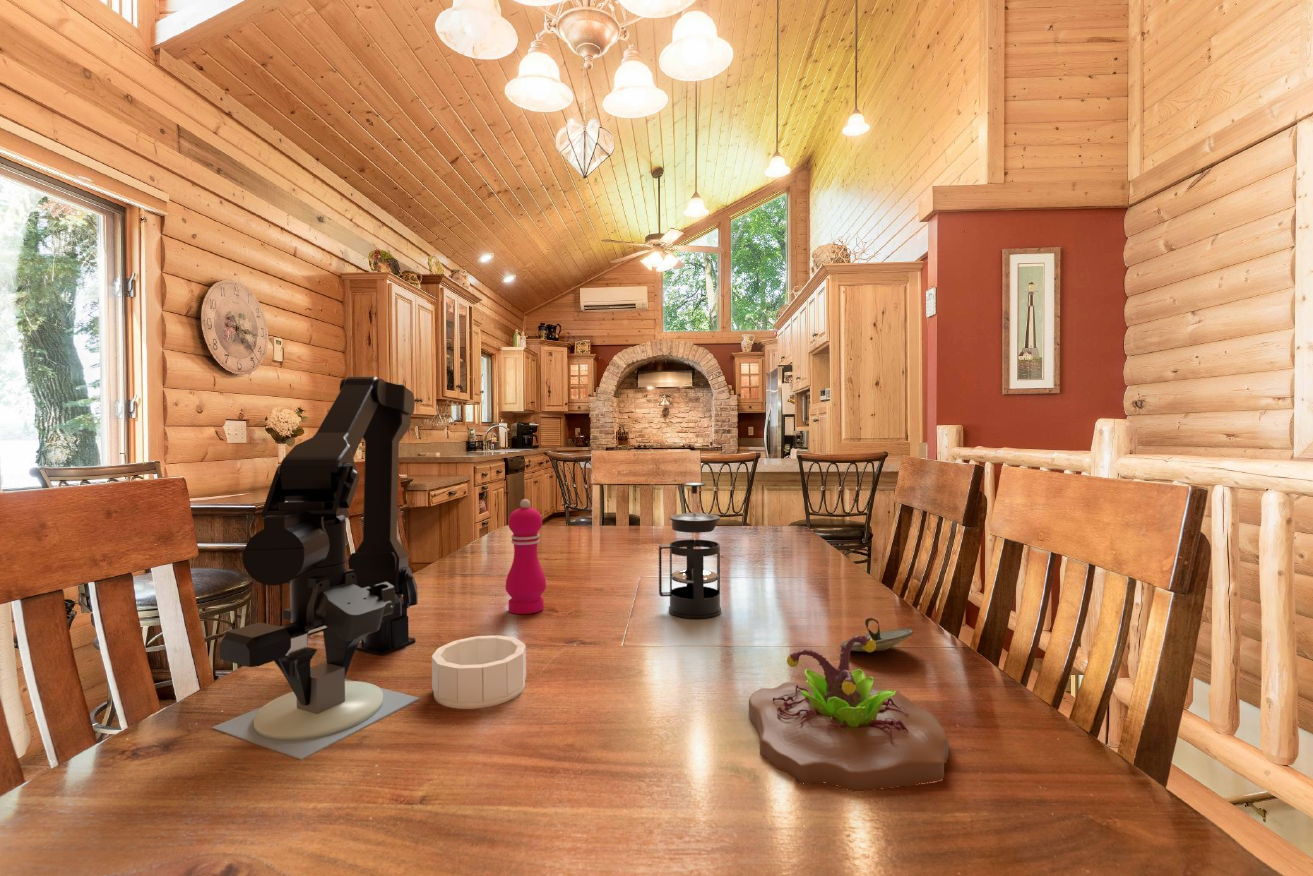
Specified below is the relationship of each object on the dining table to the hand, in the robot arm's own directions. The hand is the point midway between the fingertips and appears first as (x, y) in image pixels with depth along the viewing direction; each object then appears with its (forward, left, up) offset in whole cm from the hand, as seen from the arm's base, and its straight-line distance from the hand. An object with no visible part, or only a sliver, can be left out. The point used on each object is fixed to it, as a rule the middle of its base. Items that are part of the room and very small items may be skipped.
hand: (320, 698), depth 71 cm
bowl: (+12, +13, -2) cm, 18 cm away
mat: (0, 0, -2) cm, 2 cm away
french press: (+24, +55, -2) cm, 60 cm away
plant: (+55, +21, -3) cm, 59 cm away
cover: (0, 0, -2) cm, 2 cm away
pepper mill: (-4, +43, -2) cm, 43 cm away
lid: (+56, +47, -2) cm, 73 cm away
